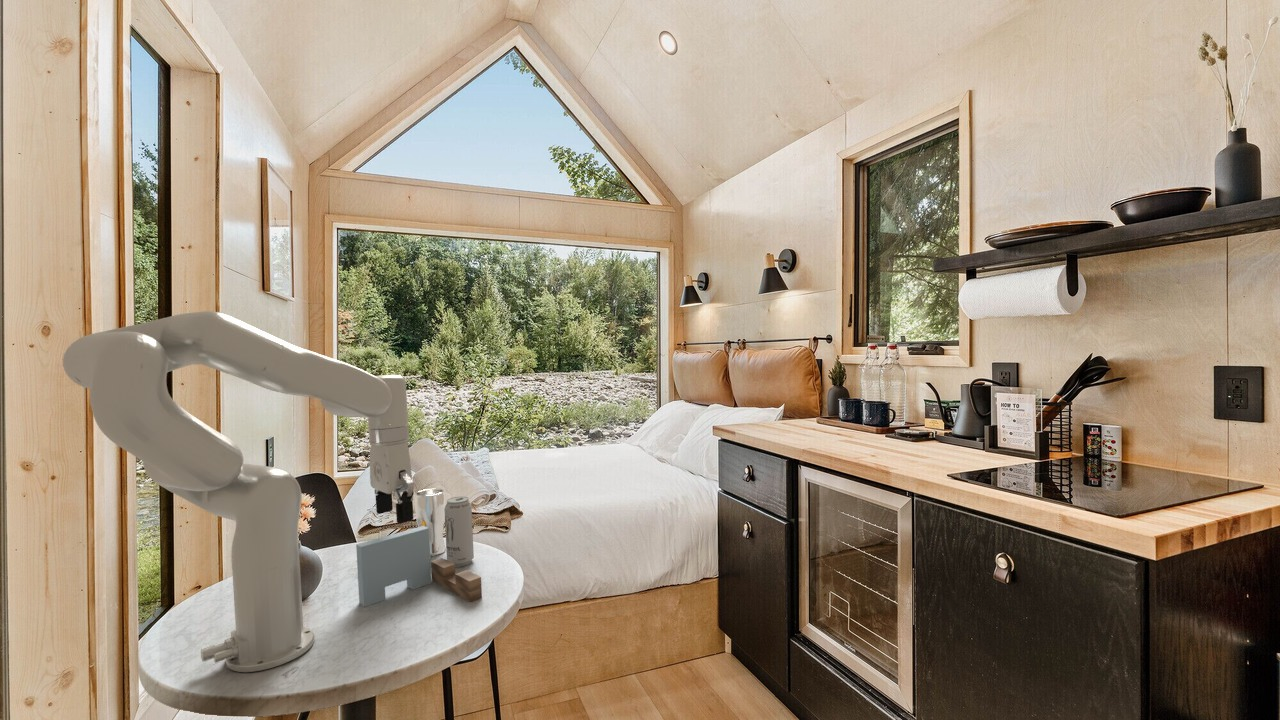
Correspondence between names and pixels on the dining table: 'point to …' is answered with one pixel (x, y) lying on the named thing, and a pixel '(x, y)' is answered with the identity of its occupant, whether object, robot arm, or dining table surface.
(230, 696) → the dining table surface
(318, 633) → the dining table surface
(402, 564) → the blue board
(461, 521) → the energy drink can
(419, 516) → the shiny metal tumbler
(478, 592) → the brown wooden bar
